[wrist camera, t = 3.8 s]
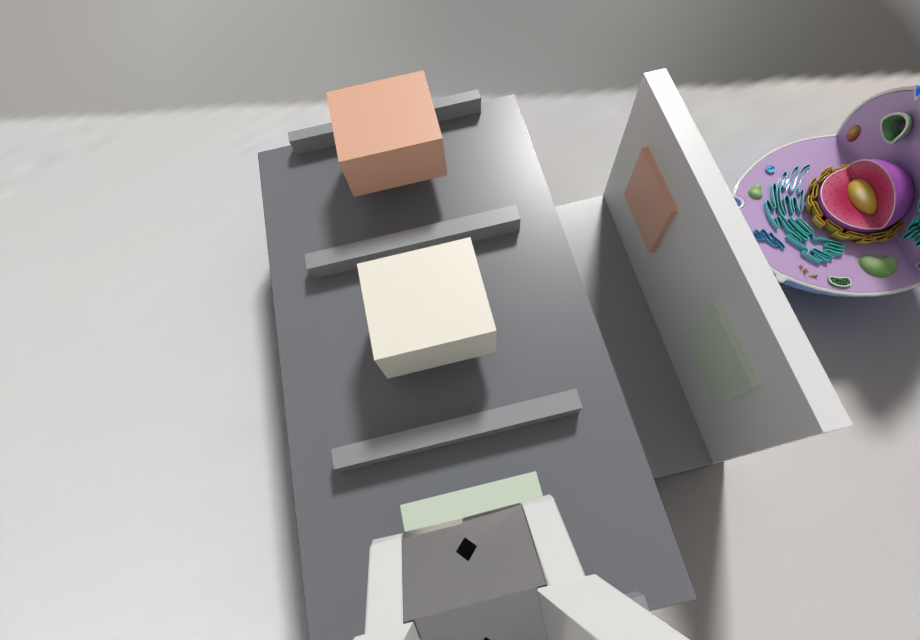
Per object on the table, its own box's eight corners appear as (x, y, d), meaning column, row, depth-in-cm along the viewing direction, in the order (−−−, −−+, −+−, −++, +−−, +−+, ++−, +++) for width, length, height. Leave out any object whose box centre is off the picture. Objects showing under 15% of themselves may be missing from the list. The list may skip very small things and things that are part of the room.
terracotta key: (353, 197, 24) (338, 161, 22) (341, 131, 26) (326, 92, 23) (447, 175, 24) (442, 138, 22) (429, 111, 26) (423, 70, 23)
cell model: (678, 198, 32) (749, 70, 23) (867, 160, 32) (1011, 19, 23) (741, 348, 28) (856, 267, 19) (955, 305, 28) (1168, 204, 19)
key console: (357, 657, 24) (269, 742, 14) (297, 216, 33) (220, 94, 24) (762, 552, 24) (928, 569, 15) (593, 147, 33) (631, 2, 24)
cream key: (387, 378, 21) (374, 360, 18) (371, 291, 22) (357, 263, 20) (496, 352, 21) (496, 330, 19) (472, 267, 22) (470, 237, 20)
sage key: (434, 630, 17) (425, 646, 15) (411, 507, 19) (400, 505, 17) (563, 597, 18) (574, 608, 15) (530, 477, 19) (535, 471, 17)
